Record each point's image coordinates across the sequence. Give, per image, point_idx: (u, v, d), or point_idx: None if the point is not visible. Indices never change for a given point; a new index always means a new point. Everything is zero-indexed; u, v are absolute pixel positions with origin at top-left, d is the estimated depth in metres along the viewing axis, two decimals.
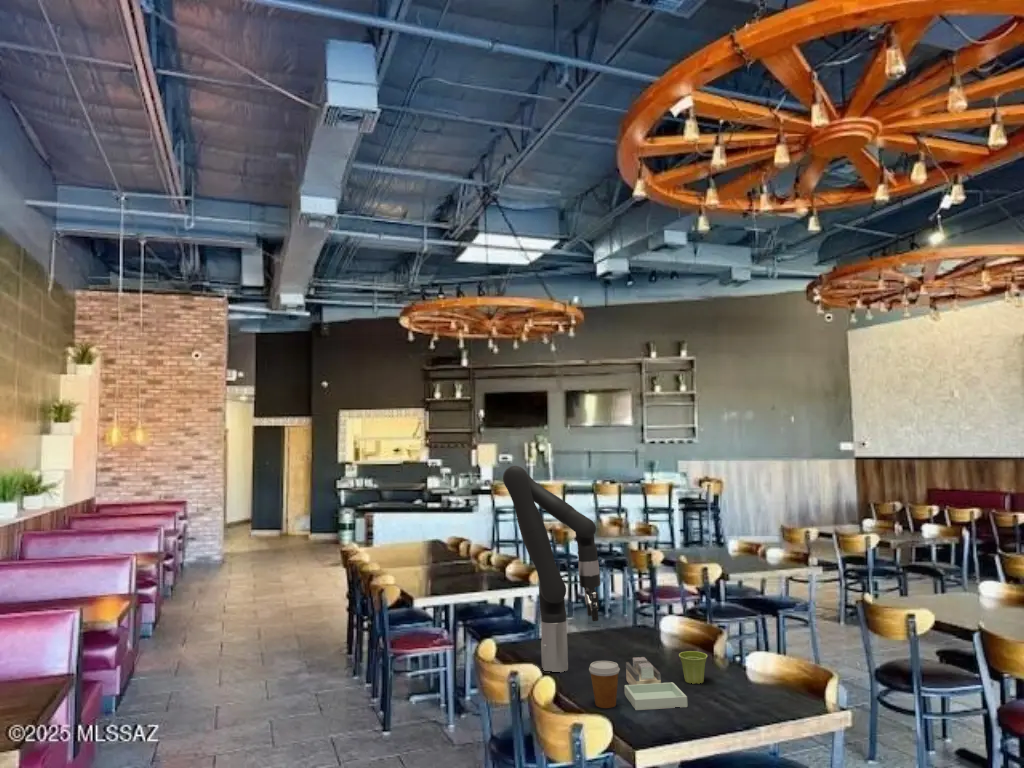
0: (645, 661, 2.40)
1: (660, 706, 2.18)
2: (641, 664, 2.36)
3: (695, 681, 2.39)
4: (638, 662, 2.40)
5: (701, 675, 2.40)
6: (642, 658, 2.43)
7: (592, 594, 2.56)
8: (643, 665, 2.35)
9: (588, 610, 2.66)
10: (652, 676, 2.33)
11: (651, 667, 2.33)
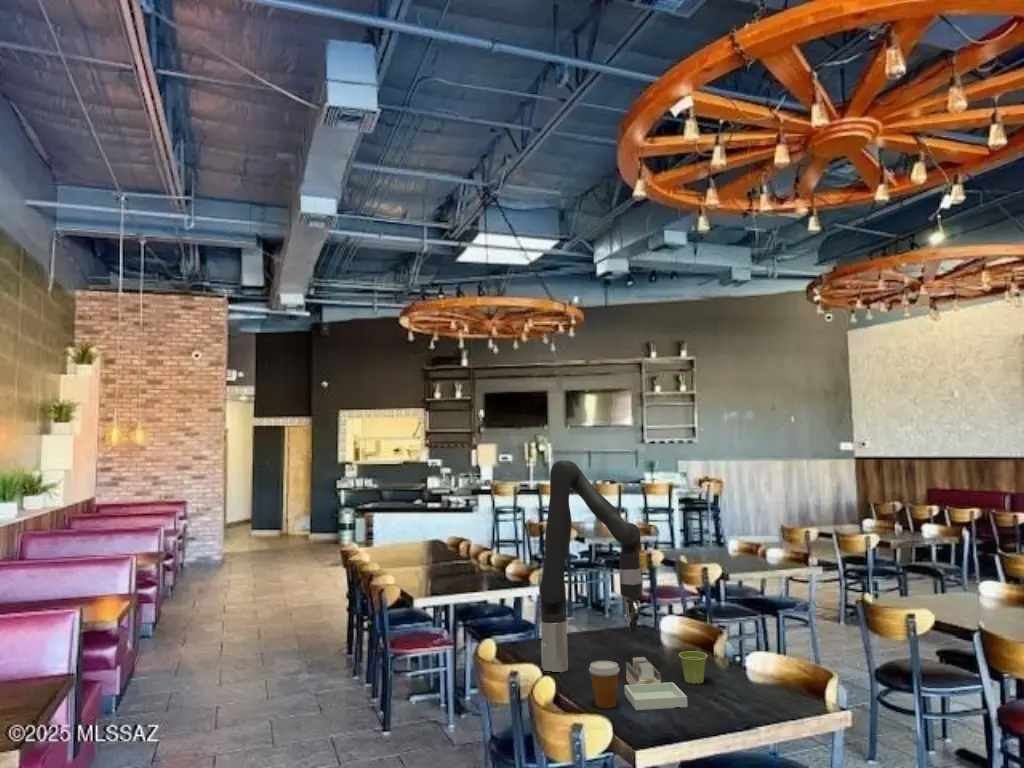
0: (645, 661, 2.40)
1: (660, 706, 2.18)
2: (641, 664, 2.36)
3: (695, 681, 2.39)
4: (638, 662, 2.40)
5: (701, 675, 2.40)
6: (642, 658, 2.43)
7: (634, 611, 2.46)
8: (643, 665, 2.35)
9: None
10: (652, 676, 2.33)
11: (651, 667, 2.33)
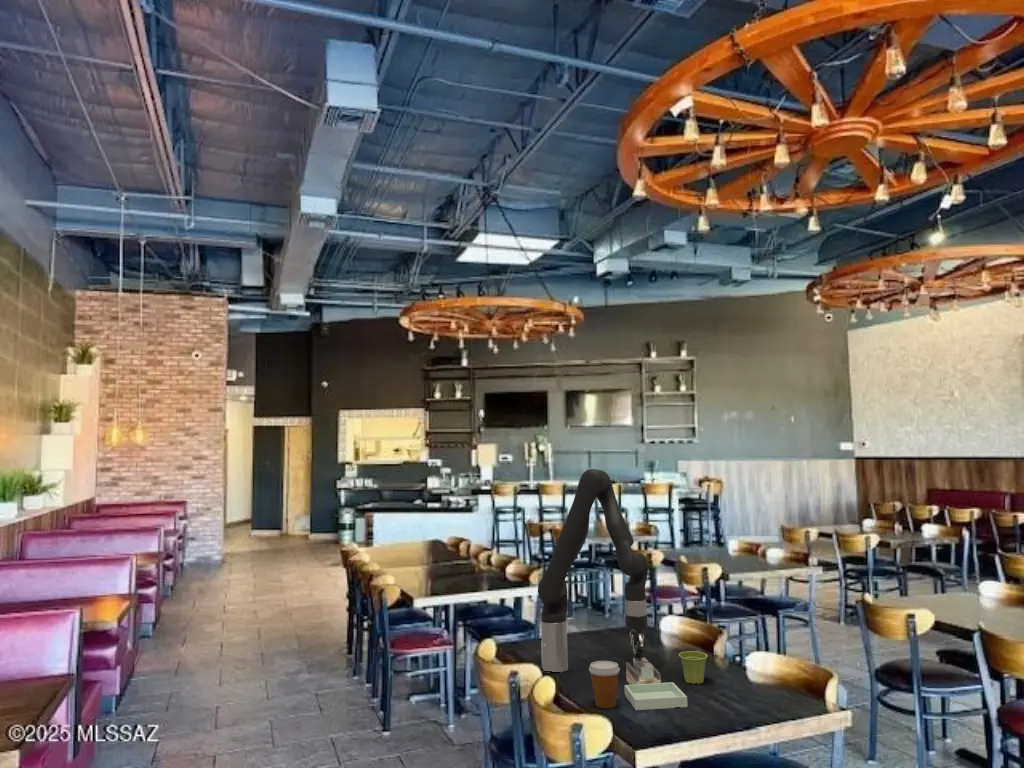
0: (646, 662, 2.40)
1: (660, 706, 2.18)
2: (641, 664, 2.36)
3: (695, 681, 2.39)
4: (639, 663, 2.39)
5: (701, 675, 2.40)
6: (642, 659, 2.42)
7: (639, 644, 2.40)
8: (643, 665, 2.35)
9: None
10: (652, 676, 2.33)
11: (651, 667, 2.33)
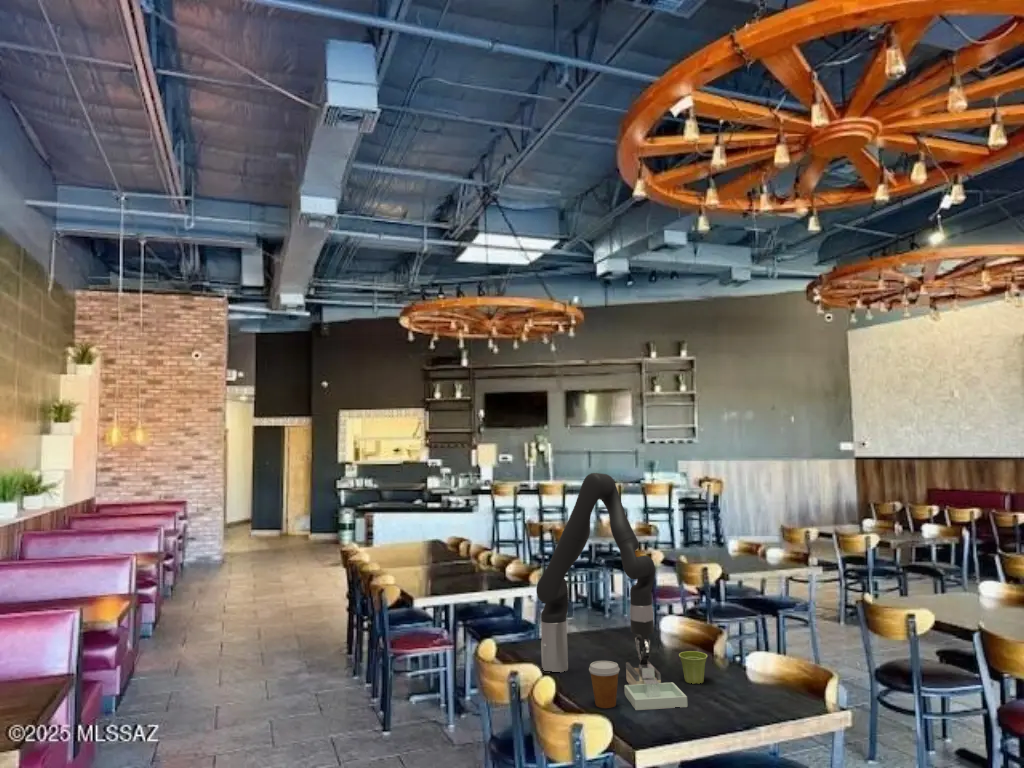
0: (652, 668, 2.32)
1: (660, 706, 2.18)
2: (649, 689, 2.27)
3: (695, 681, 2.39)
4: (645, 669, 2.32)
5: (701, 675, 2.40)
6: (648, 665, 2.35)
7: (645, 650, 2.33)
8: (650, 692, 2.26)
9: None
10: None
11: None
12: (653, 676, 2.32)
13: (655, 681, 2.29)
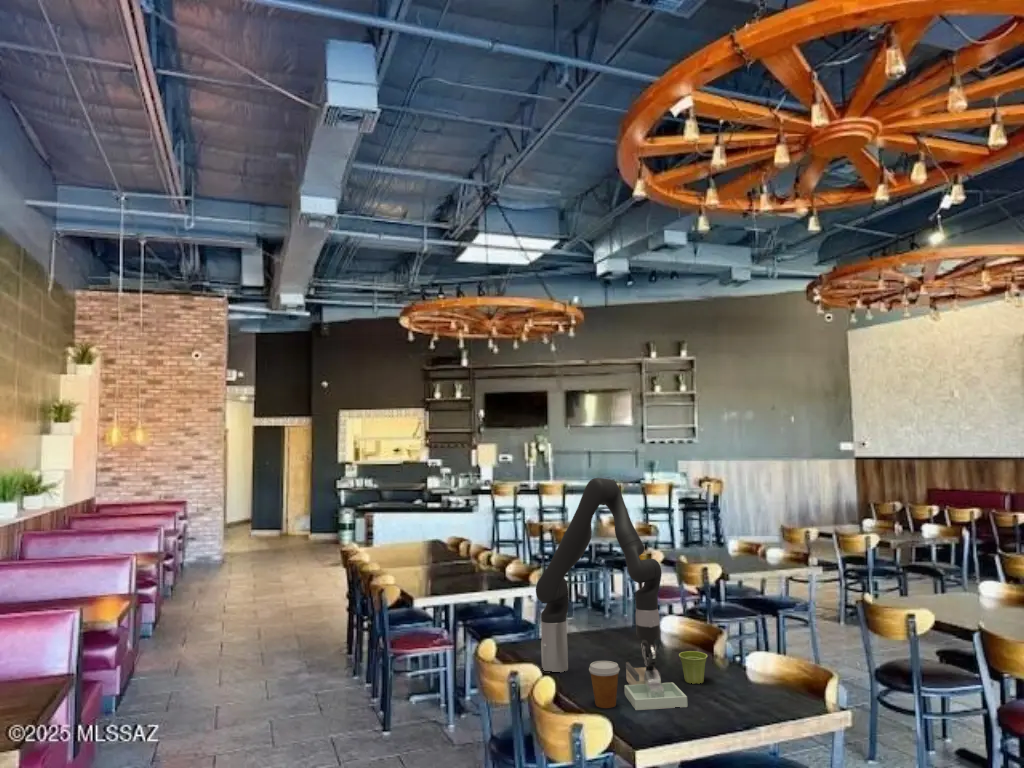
0: (658, 679, 2.25)
1: (660, 706, 2.18)
2: (653, 694, 2.22)
3: (695, 681, 2.39)
4: (650, 680, 2.25)
5: (701, 675, 2.40)
6: (655, 673, 2.27)
7: (652, 656, 2.26)
8: (654, 697, 2.22)
9: None
10: None
11: None
12: None
13: (659, 686, 2.24)
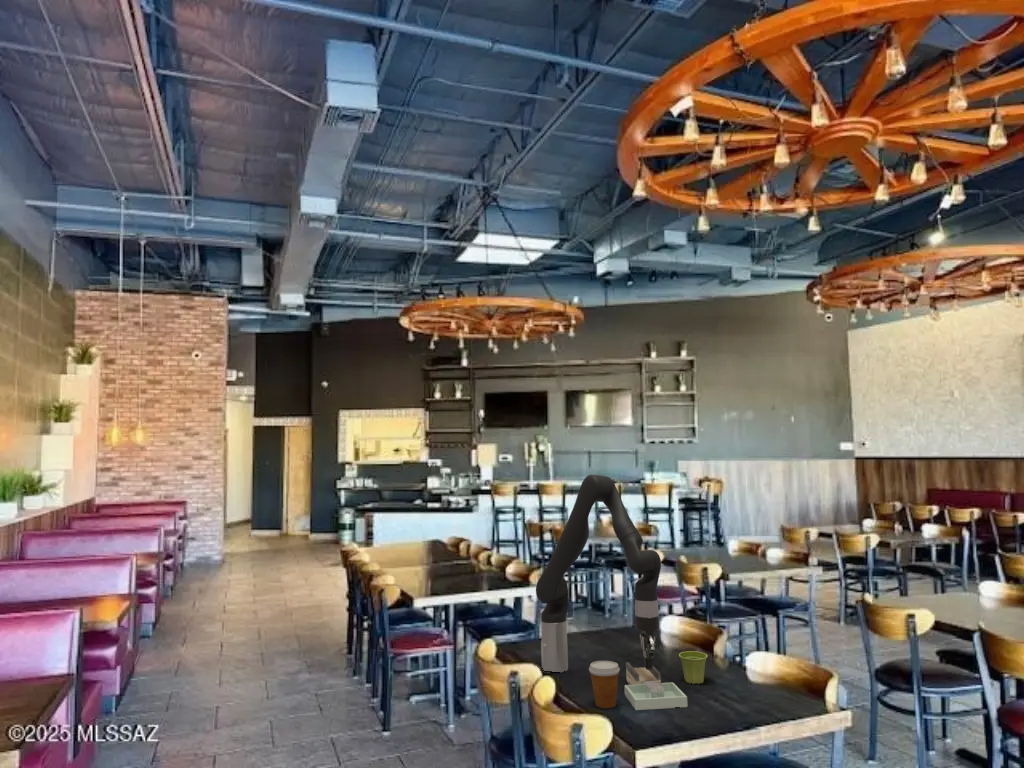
0: None
1: (660, 706, 2.18)
2: (653, 694, 2.21)
3: (695, 681, 2.39)
4: None
5: (701, 675, 2.40)
6: (654, 682, 2.28)
7: (650, 647, 2.25)
8: None
9: None
10: None
11: None
12: None
13: (659, 686, 2.24)
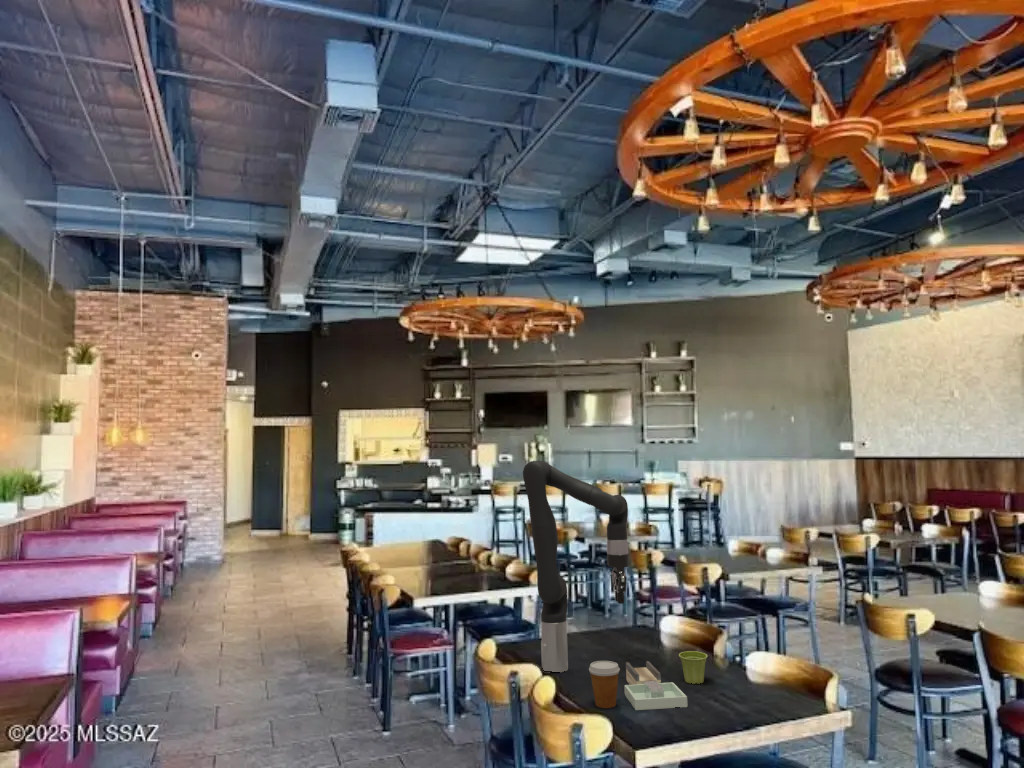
0: None
1: (660, 706, 2.18)
2: (653, 694, 2.21)
3: (695, 681, 2.39)
4: None
5: (701, 675, 2.40)
6: (654, 682, 2.28)
7: (621, 579, 2.47)
8: None
9: (616, 595, 2.54)
10: None
11: None
12: None
13: (659, 686, 2.24)
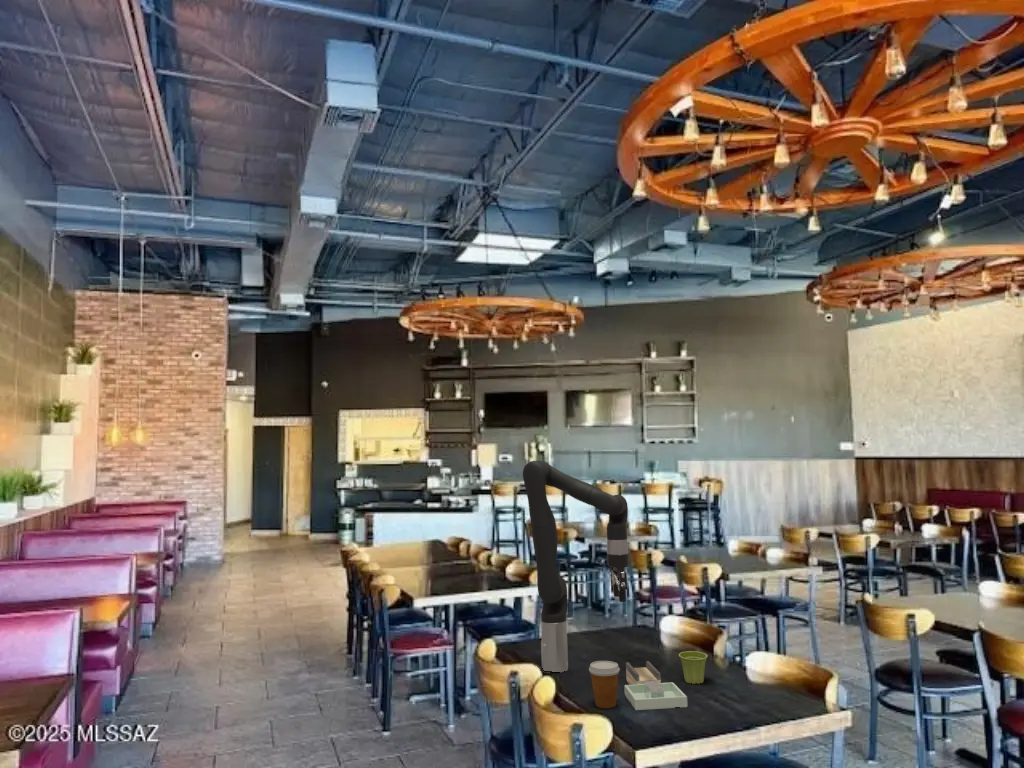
0: None
1: (660, 706, 2.18)
2: (653, 694, 2.21)
3: (695, 681, 2.39)
4: None
5: (701, 675, 2.40)
6: (654, 682, 2.28)
7: (621, 573, 2.47)
8: None
9: (614, 591, 2.57)
10: None
11: None
12: None
13: (659, 686, 2.24)
